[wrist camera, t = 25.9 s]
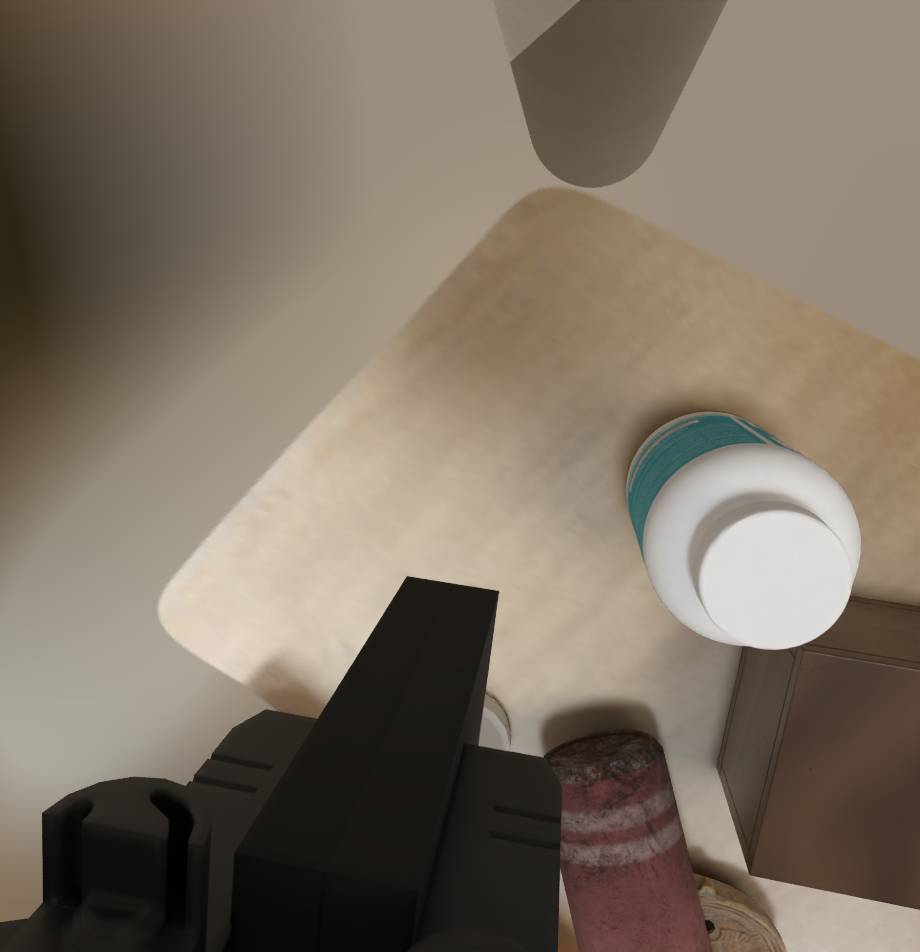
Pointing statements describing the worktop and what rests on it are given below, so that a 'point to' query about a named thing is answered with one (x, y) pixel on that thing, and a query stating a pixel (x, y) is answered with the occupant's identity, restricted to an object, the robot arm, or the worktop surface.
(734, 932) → the oil lamp
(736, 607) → the pill bottle
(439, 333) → the worktop surface
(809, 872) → the cabinet
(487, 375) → the worktop surface
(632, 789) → the can
